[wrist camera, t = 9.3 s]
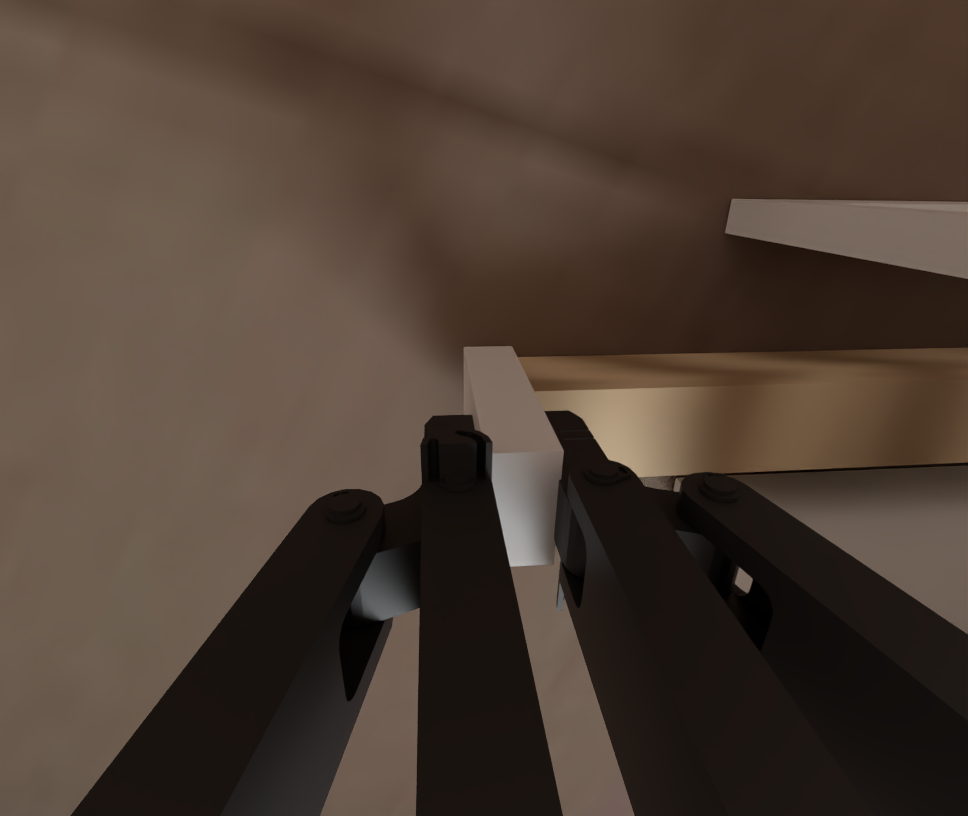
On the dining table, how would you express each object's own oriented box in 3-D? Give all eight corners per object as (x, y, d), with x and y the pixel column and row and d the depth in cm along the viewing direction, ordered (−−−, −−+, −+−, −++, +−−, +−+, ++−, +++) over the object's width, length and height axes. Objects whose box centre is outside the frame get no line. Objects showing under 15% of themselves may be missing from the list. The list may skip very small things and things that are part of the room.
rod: (502, 436, 18) (515, 482, 15) (504, 357, 17) (519, 391, 14) (1115, 414, 20) (1220, 451, 18) (1156, 343, 19) (1276, 370, 17)
